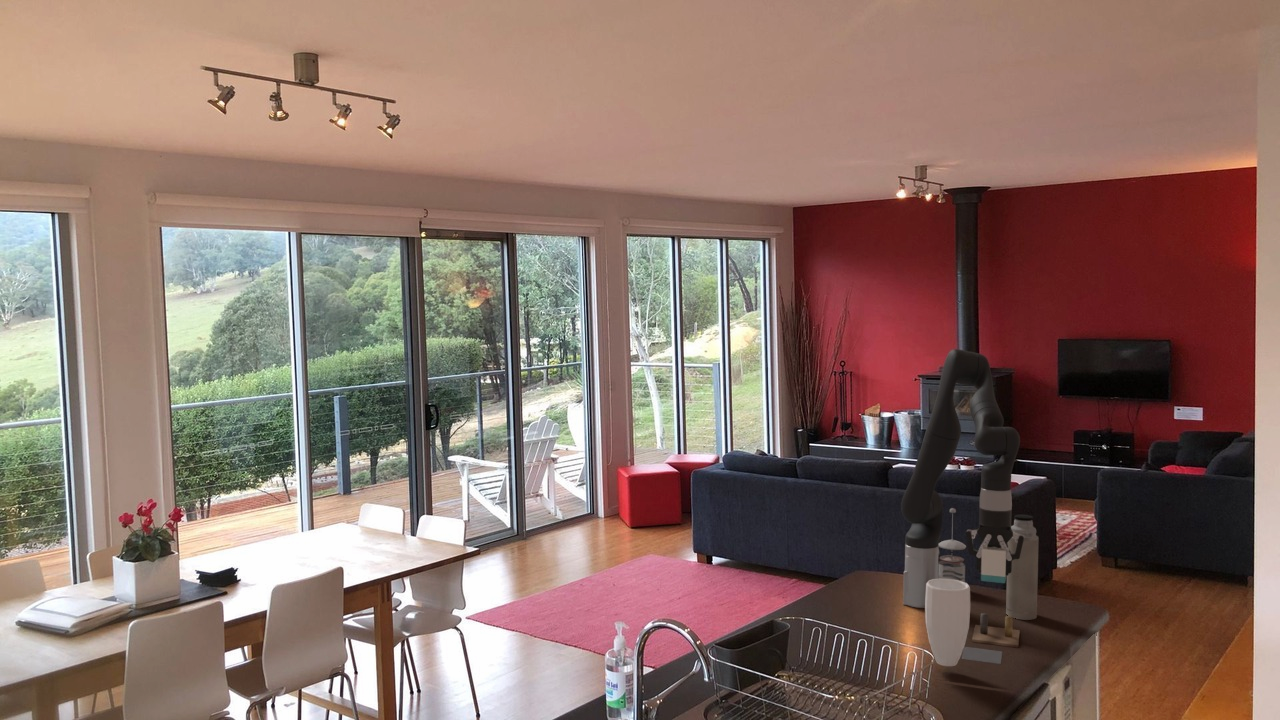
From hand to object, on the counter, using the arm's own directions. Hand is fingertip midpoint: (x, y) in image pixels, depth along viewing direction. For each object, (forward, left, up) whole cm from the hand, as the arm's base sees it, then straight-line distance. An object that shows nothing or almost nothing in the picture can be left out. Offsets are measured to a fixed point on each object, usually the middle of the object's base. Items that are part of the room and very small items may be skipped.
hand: (993, 573), depth 246 cm
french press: (-15, +48, -20) cm, 54 cm away
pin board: (+1, +8, -19) cm, 21 cm away
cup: (-9, -22, -19) cm, 31 cm away
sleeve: (0, 0, -1) cm, 1 cm away
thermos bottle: (+6, +31, -19) cm, 37 cm away
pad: (-2, -7, -19) cm, 21 cm away
